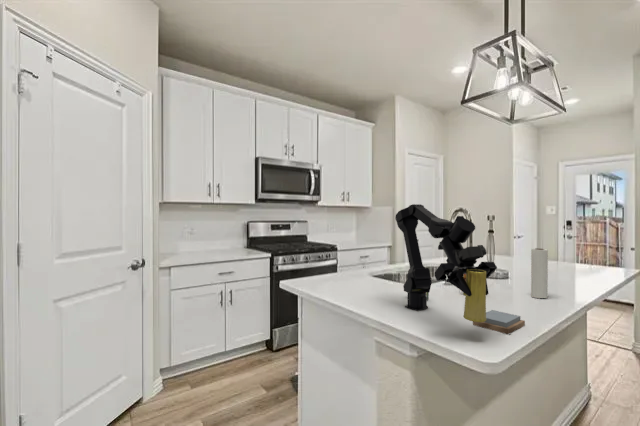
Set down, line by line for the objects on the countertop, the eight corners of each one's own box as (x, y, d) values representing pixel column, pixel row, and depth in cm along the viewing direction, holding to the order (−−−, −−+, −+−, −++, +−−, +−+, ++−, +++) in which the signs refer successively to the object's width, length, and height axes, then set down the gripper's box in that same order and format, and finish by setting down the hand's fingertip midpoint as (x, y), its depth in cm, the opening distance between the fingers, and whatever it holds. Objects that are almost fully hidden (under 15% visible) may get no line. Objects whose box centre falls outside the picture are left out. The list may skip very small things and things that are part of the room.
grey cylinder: (544, 300, 144) (544, 249, 144) (528, 297, 149) (529, 248, 149) (550, 297, 149) (550, 248, 149) (535, 294, 154) (535, 247, 154)
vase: (460, 318, 100) (461, 270, 99) (468, 314, 104) (469, 268, 104) (481, 323, 95) (483, 273, 95) (489, 319, 99) (491, 271, 99)
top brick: (477, 320, 112) (477, 315, 112) (492, 314, 118) (492, 309, 118) (506, 327, 105) (506, 322, 105) (520, 320, 112) (520, 316, 112)
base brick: (472, 324, 112) (472, 320, 112) (490, 317, 120) (490, 313, 120) (508, 334, 103) (508, 329, 103) (524, 325, 111) (524, 320, 111)
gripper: (440, 236, 101) (464, 281, 90) (493, 235, 105) (521, 278, 95) (425, 259, 108) (446, 302, 98) (475, 257, 113) (500, 298, 102)
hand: (478, 295), depth 98 cm, fingers closed on vase, 5 cm apart
